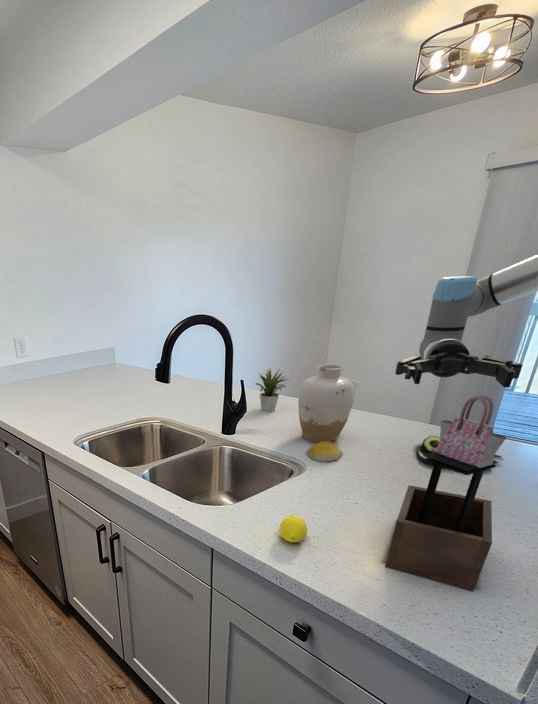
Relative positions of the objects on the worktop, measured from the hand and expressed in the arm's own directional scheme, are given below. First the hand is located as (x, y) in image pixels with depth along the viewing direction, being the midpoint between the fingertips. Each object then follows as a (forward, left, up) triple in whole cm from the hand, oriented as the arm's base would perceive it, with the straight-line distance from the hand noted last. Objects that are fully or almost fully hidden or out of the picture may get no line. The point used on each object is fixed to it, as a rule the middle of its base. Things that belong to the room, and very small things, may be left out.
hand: (462, 378), depth 79 cm
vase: (+32, -43, -31) cm, 62 cm away
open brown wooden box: (-3, +12, -31) cm, 33 cm away
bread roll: (+27, -28, -31) cm, 50 cm away
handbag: (-3, +12, -30) cm, 33 cm away
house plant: (+57, -64, -31) cm, 91 cm away
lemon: (+21, +20, -31) cm, 43 cm away
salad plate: (-3, -42, -31) cm, 53 cm away
